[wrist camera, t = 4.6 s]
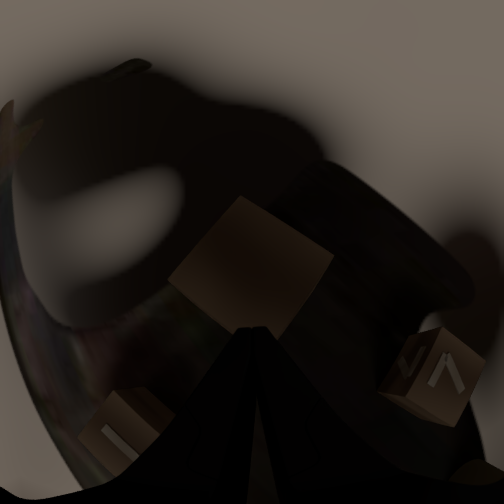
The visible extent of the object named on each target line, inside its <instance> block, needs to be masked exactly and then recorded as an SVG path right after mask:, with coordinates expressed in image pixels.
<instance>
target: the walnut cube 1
mask: <svg viewBox="0 0 504 504" xmlns="http://www.w3.org/2000/svg"><path fill="white" fill-rule="evenodd" d="M175 416H176V414H175V413H173V412H172V411H171V410H170V409H169V408H168V407H167V406H165V405H164V404H163V403H162V402H161V401H160V400H159V399H157V398H156V397H155V396H154V395H153V394H152V393H151V392H150V391H149V390H148V389H147V388H146V387H144V386H143V387H135V388H127V389H118V390H113V391H112V392H111V394H110V395H109V396H108V398H107V399H106V400H105V401H104V403H103V404H102V405H101V407H100V408H99V409H98V411H97V412H96V413H95V414H94V416H93V417H92V418H91V420H90V421H89V422H88V424H87V425H86V426H85V428H84V429H83V430H82V432H81V433H80V434H79V436H78V437H77V438H78V439H79V440H80V441H81V443H82V444H83V445H84V446H85V447H86V448H87V449H88V450H89V451H90V452H91V453H92V454H93V455H94V456H95V457H96V458H97V459H98V460H99V461H100V462H101V463H102V464H103V465H104V466H105V467H106V468H107V469H108V470H109V471H110V472H111V473H112V474H113V475H114V476H115V477H117V476H118V475H120V474H121V473H122V472H123V471H124V470H126V469H127V468H128V467H129V466H130V465H131V464H132V463H133V462H134V461H135V460H136V459H137V458H138V457H139V456H140V455H141V454H142V453H143V452H144V451H145V450H146V449H147V448H148V447H149V446H150V445H151V444H152V443H153V442H154V441H155V440H156V438H157V437H158V436H159V435H160V434H161V433H162V432H163V431H164V430H165V429H166V427H167V426H168V425H169V424H170V422H171V421H172V420H173V419H174V417H175Z"/></svg>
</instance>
